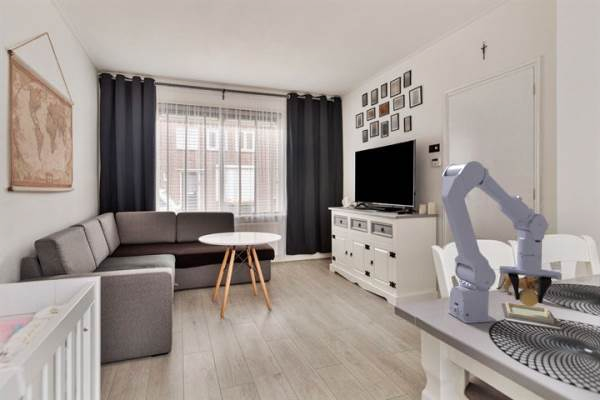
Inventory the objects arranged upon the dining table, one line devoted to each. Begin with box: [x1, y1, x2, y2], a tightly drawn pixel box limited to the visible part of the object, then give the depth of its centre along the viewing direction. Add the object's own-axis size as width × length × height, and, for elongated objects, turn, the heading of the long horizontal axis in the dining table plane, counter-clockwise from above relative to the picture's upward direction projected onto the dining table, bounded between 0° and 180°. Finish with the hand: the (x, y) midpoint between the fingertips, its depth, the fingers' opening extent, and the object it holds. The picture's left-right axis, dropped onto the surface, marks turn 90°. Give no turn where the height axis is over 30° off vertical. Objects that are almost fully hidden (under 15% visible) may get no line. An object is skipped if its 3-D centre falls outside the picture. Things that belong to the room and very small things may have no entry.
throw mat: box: [501, 301, 563, 332], centre depth 91 cm, size 16×12×1 cm
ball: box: [518, 289, 539, 306], centre depth 92 cm, size 5×5×5 cm
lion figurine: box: [495, 274, 538, 296], centre depth 109 cm, size 15×5×9 cm, turn 36°
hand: (528, 300), depth 92 cm, fingers closed on ball, 5 cm apart
